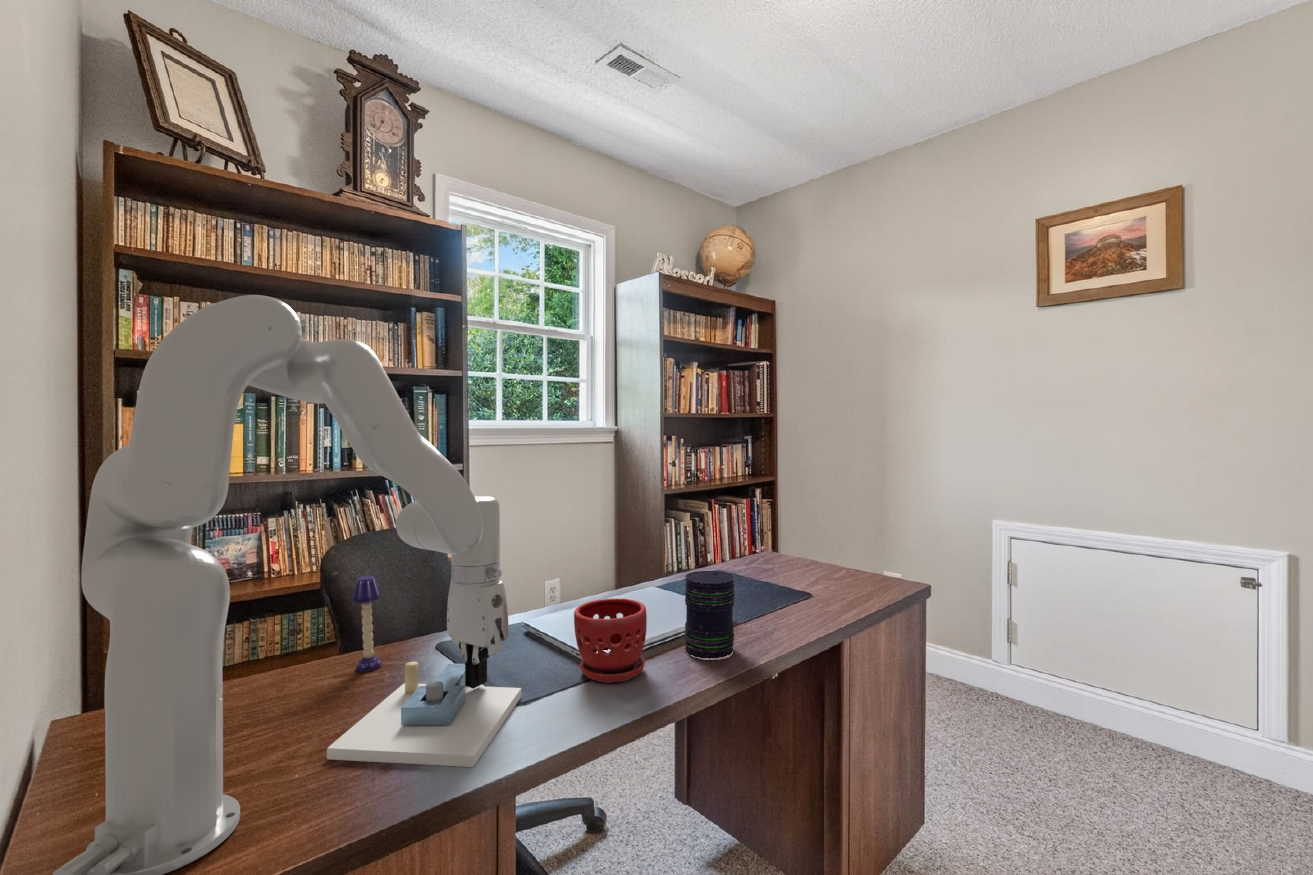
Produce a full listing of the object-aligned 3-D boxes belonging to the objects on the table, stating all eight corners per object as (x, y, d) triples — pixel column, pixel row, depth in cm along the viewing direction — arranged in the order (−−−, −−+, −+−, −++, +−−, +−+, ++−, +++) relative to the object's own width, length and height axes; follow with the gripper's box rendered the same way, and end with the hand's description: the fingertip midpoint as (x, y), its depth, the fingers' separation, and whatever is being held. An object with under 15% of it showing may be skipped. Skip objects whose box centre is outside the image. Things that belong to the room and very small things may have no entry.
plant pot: (623, 653, 114) (623, 593, 114) (660, 677, 104) (660, 610, 103) (562, 668, 107) (562, 603, 107) (594, 695, 96) (595, 623, 96)
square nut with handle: (450, 724, 83) (450, 707, 83) (401, 725, 83) (401, 707, 83) (480, 678, 98) (480, 663, 98) (438, 678, 98) (438, 663, 98)
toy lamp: (359, 675, 104) (359, 581, 104) (347, 668, 107) (347, 577, 106) (385, 666, 108) (385, 576, 107) (373, 660, 110) (373, 572, 110)
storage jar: (720, 665, 109) (721, 585, 109) (675, 654, 114) (675, 578, 114) (741, 648, 118) (742, 574, 117) (698, 639, 123) (699, 568, 123)
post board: (473, 767, 76) (473, 721, 75) (327, 759, 77) (327, 714, 77) (521, 697, 95) (521, 660, 95) (404, 692, 97) (404, 656, 97)
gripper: (526, 573, 94) (526, 686, 94) (463, 562, 102) (463, 666, 102) (490, 584, 88) (490, 705, 88) (426, 571, 95) (426, 682, 96)
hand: (476, 684), depth 95 cm, fingers closed
